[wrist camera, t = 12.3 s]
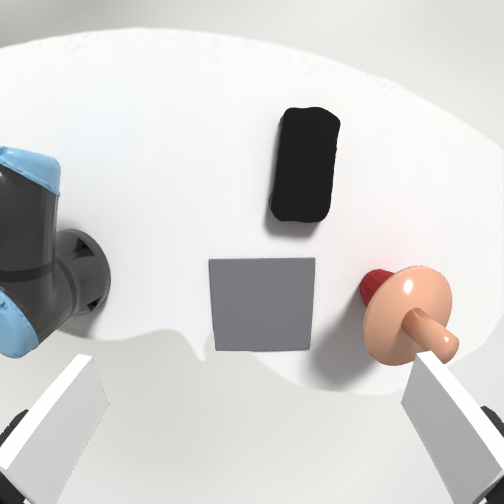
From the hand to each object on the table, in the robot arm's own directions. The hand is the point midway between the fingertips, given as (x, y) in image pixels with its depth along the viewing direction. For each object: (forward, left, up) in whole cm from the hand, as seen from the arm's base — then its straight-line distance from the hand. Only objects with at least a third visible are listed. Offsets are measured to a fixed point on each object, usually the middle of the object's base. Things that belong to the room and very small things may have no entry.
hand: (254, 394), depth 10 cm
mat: (+1, -12, -35) cm, 37 cm away
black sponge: (+7, +10, -35) cm, 37 cm away
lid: (+20, -9, -23) cm, 32 cm away
